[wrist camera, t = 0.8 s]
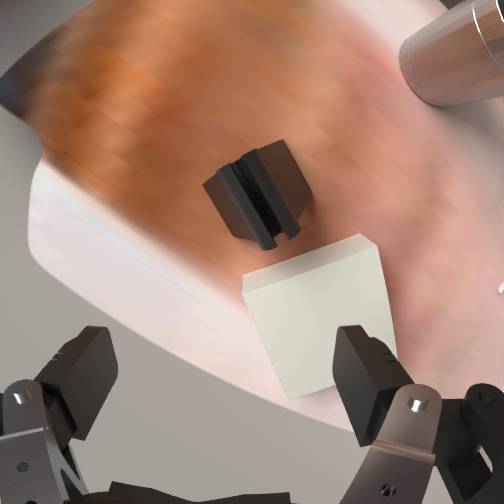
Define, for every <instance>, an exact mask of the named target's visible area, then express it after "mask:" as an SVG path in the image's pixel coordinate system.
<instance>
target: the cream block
mask: <svg viewBox="0 0 504 504" xmlns="http://www.w3.org/2000/svg"><path fill="white" fill-rule="evenodd" d="M242 296H243V298H244V300H245V303H246V305H247V308H248V310H249V312H250V315H251V317H252V319H253V322H254V324H255V326H256V328H257V331H258V333H259V335H260V338H261V340H262V342H263V345H264V347H265V349H266V351H267V354H268V356H269V358H270V361H271V363H272V365H273V367H274V370H275V372H276V374H277V376H278V379H279V381H280V383H281V385H282V387H283V390H284V392H285V394H286V396H287V399H288V400H290V399H294V398H297V397H300V396H304V395H307V394H310V393H313V392H316V391H319V390H322V389H325V388H328V387H331V386H334V385H336V384H335V382H334V379H333V373H332V364H333V356H334V349H335V342H336V334H337V329H338V327H339V326H349V325H361V326H362V327H363V329H364V330H365V332H366V333H367V335H368V336H369V337H376V338H377V339H379V340H380V341H382V342H384V343H385V344H386V345H387V346H388V348H389V349H390V350H391V352H392V354H394V356H395V357H396V358H397V361H398V357H397V350H396V343H395V336H394V329H393V323H392V317H391V311H390V306H389V300H388V295H387V290H386V285H385V280H384V275H383V270H382V266H381V261H380V257H379V252H378V248H377V245H375V244H374V243H373V242H371V241H370V240H368V239H367V238H366V237H364V236H363V235H361V234H360V233H359V234H356V235H353V236H351V237H348V238H345V239H343V240H340V241H337V242H334V243H332V244H329V245H326V246H323V247H321V248H318V249H315V250H312V251H310V252H307V253H304V254H301V255H298V256H296V257H293V258H290V259H287V260H284V261H282V262H279V263H276V264H273V265H270V266H268V267H265V268H262V269H259V270H256V271H253V272H251V273H248V274H245V275H243V287H242Z"/></svg>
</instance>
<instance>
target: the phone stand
mask: <svg viewBox="0 0 504 504" xmlns="http://www.w3.org/2000/svg"><path fill="white" fill-rule="evenodd" d="M216 172H217V173H216V174H215V175H214V176H212V177H211V178H210V179H209V180H208V181H206V182H205V183H204V184H203V187H204V188H205V190H206V192H207V193H208V195H209V197H210V198H211V200H212V202H213V203H214V205H215V207H216V208H217V210H218V212H219V213H220V215H221V217H222V218H223V220H224V222H225V223H226V225H227V227H228V228H229V230H230V232H231V233H232V235H233V236H235V237H240V238H244V239H249V240H254V241H257V242H258V244H259V245H260V247H261V249H262V250H264V251H266V250H271V249H274V248H276V247H277V246H278V245H277V243H276V241H275V240H274V238H273V237H275V236H277V235H278V234H279V233H283V232H284V233H285V235H286V237H287V239H288V240H291V239H292V238H293V237H295V236H296V235H297V234H298V233H299V232H300V230H301V227H300V225H299V223H298V220H299V218H300V216H301V214H302V212H303V210H304V208H305V206H306V204H307V202H308V199H309V197H310V195H311V193H312V191H311V189H310V188H309V186H308V184H307V182H306V180H305V178H304V176H303V175H302V173H301V171H300V169H299V167H298V165H297V164H296V162H295V160H294V158H293V157H292V155H291V153H290V151H289V149H288V148H287V146H286V144H285V143H284V141H283V139H282V140H279V141H277V142H274V143H272V144H269V145H267V146H264V147H262V148H260V149H257V148H256V149H254V150H252V151H250V152H248V153H246V154H244V155H242V156H241V158H240V159H239V160H237V161H235V162H233V163H232V164H230V163H228V164H227V165H225V166H223V167H222V168H220V169H219V170H217V171H216Z"/></svg>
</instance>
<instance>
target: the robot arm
mask: <svg viewBox="0 0 504 504" xmlns="http://www.w3.org/2000/svg"><path fill="white" fill-rule="evenodd" d="M399 59H400V66H401V69H402V72H403V75H404V77H405V79H406V81H407V83H408V84H409V86H410V87H411V89H412V90H413V91H414V92H415V93H416V94H417V95H418V96H419V97H420V98H421V99H423V100H424V101H425V102H427V103H429V104H431V105H434V106H437V107H448V106H453V105H458V104H463V103H469V102H474V101H479V100H485V99H491V98H496V97H503V96H504V0H464V1H463V2H461V3H460V4H458V5H456V6H455V7H453V8H452V9H450V10H449V11H447V12H446V13H444V14H443V15H441V16H440V17H438V18H437V19H435V20H434V21H432V22H431V23H429V24H428V25H426V26H425V27H423V28H422V29H420V30H419V31H418V32H416V33H415V34H413V35H412V36H411V37H409V38H408V39H407V40H405V42H404V43H403V45H402V47H401V50H400V58H399ZM332 373H333V379H334V382H335V384H336V387H337V389H338V392H339V394H340V397H341V399H342V402H343V404H344V407H345V409H346V412H347V414H348V417H349V419H350V422H351V425H352V427H353V430H354V432H355V435H356V437H357V440H358V443H359V445H360V447H363V446H368V445H371V447H370V449H369V451H368V453H367V455H366V457H365V459H364V461H363V463H362V465H361V467H360V469H359V471H358V473H357V474H356V476H355V478H354V480H353V482H352V483H351V485H350V487H349V488H348V490H347V491H346V493H345V495H344V497H343V498H342V500H341V501H340V503H339V504H422V501H423V498H424V495H425V492H426V489H427V486H428V483H429V479H430V476H431V472H432V469H433V466H437V468H438V470H439V472H440V475H441V477H442V479H443V481H444V483H445V486H446V488H447V490H448V492H449V495H450V497H451V499H452V501H453V504H504V393H503V392H502V391H501V390H500V389H498V388H497V387H495V386H493V385H490V384H485V383H480V384H475V385H473V386H471V387H470V388H469V389H468V391H467V393H466V395H465V397H464V399H442V398H441V396H440V394H439V393H438V392H437V391H436V390H434V389H433V388H431V387H429V386H426V385H422V384H415V383H414V382H413V380H412V379H411V377H410V376H409V375H408V373H407V372H406V371H405V369H404V368H403V366H402V365H401V364H400V362H399V361H397V358H396V357H395V356H394V354H392V352H391V350H390V349H389V348H388V346H387V345H386V344H385V343H384V342H382V341H380V340H379V339H377V338H376V337H369V336H368V335H367V333H366V332H365V330H364V329H363V327H362V326H361V325H349V326H339V327H338V329H337V334H336V342H335V349H334V356H333V364H332ZM117 375H118V364H117V360H116V356H115V352H114V348H113V344H112V340H111V336H110V332H109V330H108V328H107V327H99V326H86V327H85V328H84V329H83V330H82V332H81V333H80V334H79V335H78V336H77V337H76V338H74V339H72V340H70V341H69V342H67V343H65V344H64V345H63V346H62V347H61V349H60V350H59V351H58V354H55V356H54V357H53V358H52V360H50V361H49V362H48V363H47V365H46V366H45V367H44V368H43V369H42V370H41V372H40V373H39V374H38V375H37V376H36V378H35V379H34V380H30V379H29V380H28V379H24V380H19V381H16V382H14V383H12V384H11V385H9V386H8V387H7V389H5V391H4V393H0V499H1V504H295V503H291V502H290V494H289V492H285V493H271V494H243V495H238V496H233V497H228V498H222V499H216V500H210V501H203V502H192V501H188V500H185V499H181V498H179V497H175V496H172V495H169V494H166V493H163V492H160V491H158V490H155V489H152V488H146V487H140V486H134V485H129V484H124V483H119V482H114V481H112V483H111V486H110V489H109V492H95V493H89V491H88V490H87V487H86V485H85V483H84V480H83V478H82V475H81V472H80V470H79V467H78V464H77V462H76V459H75V456H74V453H73V450H72V448H71V446H70V444H69V441H70V440H71V438H75V439H79V440H83V441H85V439H86V437H87V435H88V433H89V431H90V429H91V427H92V425H93V423H94V421H95V419H96V417H97V415H98V413H99V411H100V409H101V408H102V406H103V403H104V402H105V400H106V398H107V396H108V394H109V392H110V390H111V388H112V386H113V385H114V383H115V381H116V379H117ZM481 447H483V449H484V451H485V452H486V454H487V455H488V457H489V459H490V460H491V462H492V466H493V471H492V473H491V471H490V469H489V467H488V466H487V464H486V462H485V461H484V459H483V457H482V456H481V454H480V452H479V450H480V448H481Z"/></svg>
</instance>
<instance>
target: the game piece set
mask: <svg viewBox="0 0 504 504" xmlns="http://www.w3.org/2000/svg"><path fill="white" fill-rule="evenodd" d="M503 291H504V283H503V284H501V285H500V287H499V288H498V293H500V294H503Z"/></svg>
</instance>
